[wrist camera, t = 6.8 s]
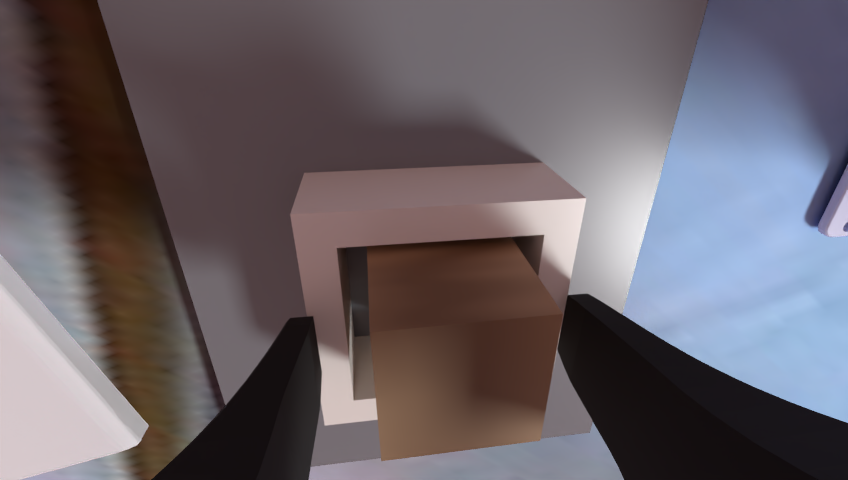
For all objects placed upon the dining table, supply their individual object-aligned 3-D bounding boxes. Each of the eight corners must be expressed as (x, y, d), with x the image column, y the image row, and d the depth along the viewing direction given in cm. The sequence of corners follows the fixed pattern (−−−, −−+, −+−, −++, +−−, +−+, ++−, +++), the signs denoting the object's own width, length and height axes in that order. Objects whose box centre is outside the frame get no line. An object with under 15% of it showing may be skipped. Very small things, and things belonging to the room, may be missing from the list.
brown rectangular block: (487, 201, 14) (562, 314, 9) (481, 299, 16) (540, 440, 11) (365, 209, 14) (369, 332, 8) (373, 309, 16) (381, 460, 10)
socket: (707, -69, 12) (840, -99, 9) (582, 418, 21) (622, 493, 18) (88, -84, 10) (-45, -130, 7) (251, 457, 20) (229, 549, 16)
